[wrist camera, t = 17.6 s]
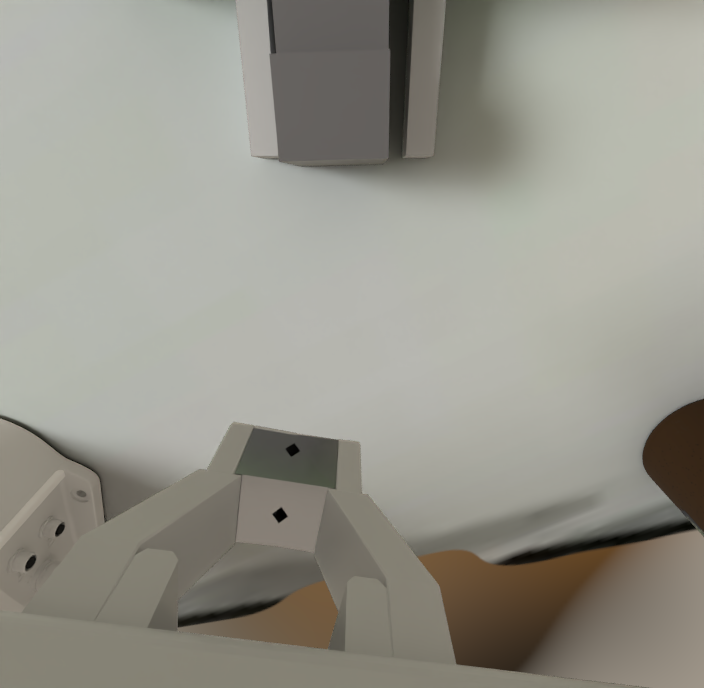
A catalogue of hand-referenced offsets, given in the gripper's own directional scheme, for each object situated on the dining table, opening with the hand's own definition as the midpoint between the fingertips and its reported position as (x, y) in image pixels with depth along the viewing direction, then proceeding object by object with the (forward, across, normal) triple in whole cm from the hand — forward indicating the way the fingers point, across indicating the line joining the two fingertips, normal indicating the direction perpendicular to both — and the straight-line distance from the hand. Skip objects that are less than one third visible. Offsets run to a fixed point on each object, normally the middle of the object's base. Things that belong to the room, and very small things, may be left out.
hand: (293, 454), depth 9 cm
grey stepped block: (+18, +2, -11) cm, 21 cm away
